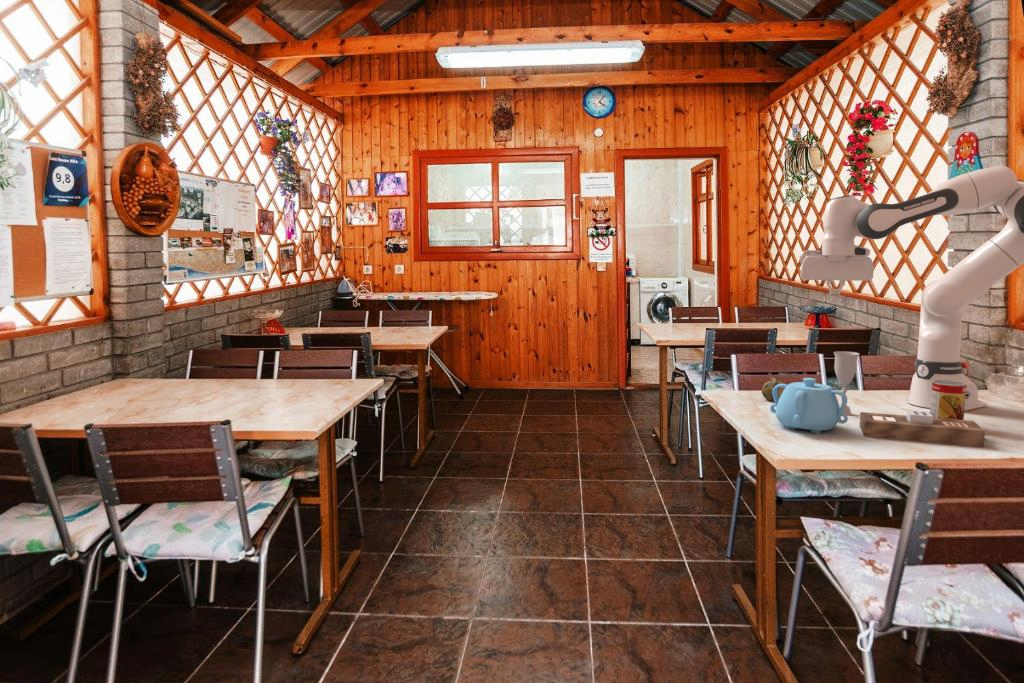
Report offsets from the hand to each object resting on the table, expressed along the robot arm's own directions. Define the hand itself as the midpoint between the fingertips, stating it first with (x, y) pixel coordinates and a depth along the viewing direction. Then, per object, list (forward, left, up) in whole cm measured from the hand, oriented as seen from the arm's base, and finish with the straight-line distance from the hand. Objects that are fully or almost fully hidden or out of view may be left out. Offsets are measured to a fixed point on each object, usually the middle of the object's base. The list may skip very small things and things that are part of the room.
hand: (834, 295), depth 206 cm
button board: (+7, +38, -34) cm, 52 cm away
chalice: (+6, +12, -34) cm, 37 cm away
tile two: (+7, +38, -31) cm, 49 cm away
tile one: (+13, +33, -33) cm, 48 cm away
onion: (+13, -9, -34) cm, 38 cm away
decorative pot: (+28, +22, -34) cm, 49 cm away
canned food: (-10, +32, -34) cm, 48 cm away
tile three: (+1, +43, -33) cm, 54 cm away
